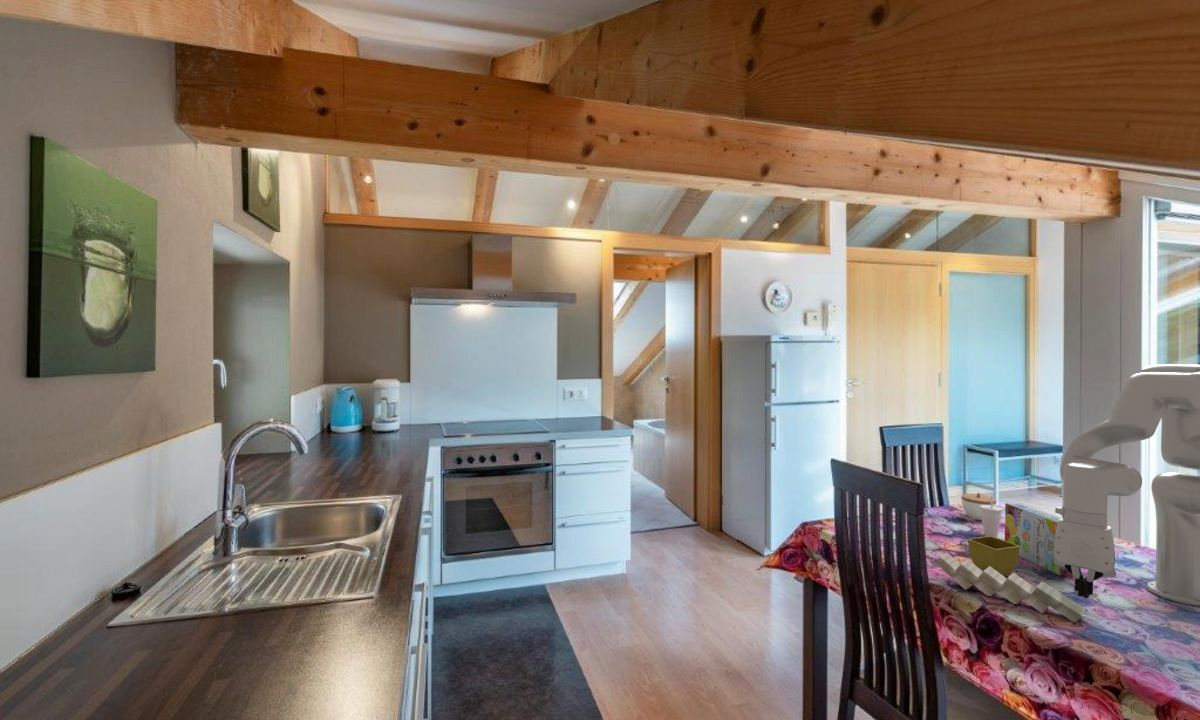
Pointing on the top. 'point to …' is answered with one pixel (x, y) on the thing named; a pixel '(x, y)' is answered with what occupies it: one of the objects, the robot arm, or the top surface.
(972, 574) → the domino
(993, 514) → the smoothie
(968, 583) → the domino
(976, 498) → the lidded jar
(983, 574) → the domino
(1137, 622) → the top surface
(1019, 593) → the domino
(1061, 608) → the domino
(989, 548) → the flower pot
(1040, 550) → the snack box
